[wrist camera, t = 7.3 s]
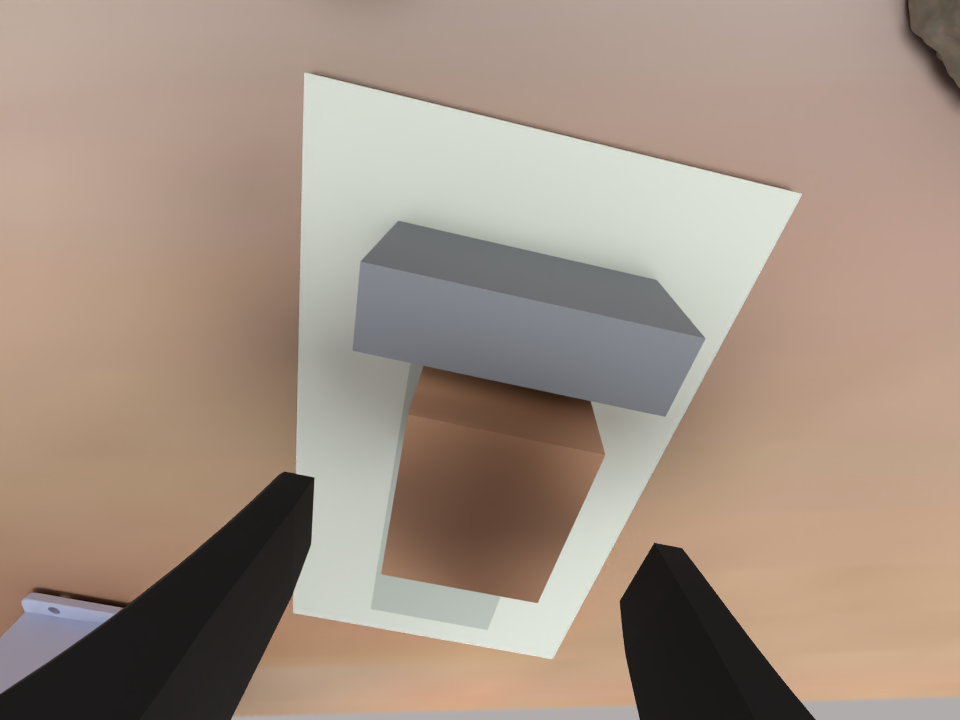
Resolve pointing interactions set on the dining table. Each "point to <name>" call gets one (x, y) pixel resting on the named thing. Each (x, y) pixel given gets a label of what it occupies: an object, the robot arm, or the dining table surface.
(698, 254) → the board
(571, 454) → the block
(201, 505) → the dining table surface
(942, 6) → the long grey stone
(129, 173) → the dining table surface
